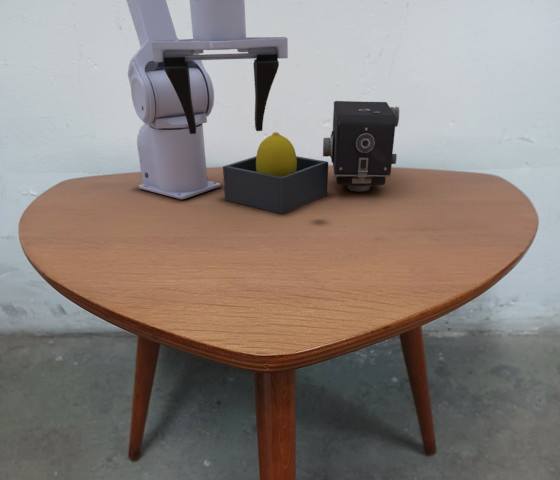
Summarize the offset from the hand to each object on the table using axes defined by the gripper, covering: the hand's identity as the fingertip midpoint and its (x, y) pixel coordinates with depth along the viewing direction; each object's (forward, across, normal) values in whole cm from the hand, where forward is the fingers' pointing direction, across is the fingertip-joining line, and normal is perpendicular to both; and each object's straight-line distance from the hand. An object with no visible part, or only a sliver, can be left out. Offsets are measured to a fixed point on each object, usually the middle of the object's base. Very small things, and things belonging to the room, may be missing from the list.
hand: (226, 130), depth 65 cm
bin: (+10, +6, +8) cm, 14 cm away
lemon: (+10, +7, +8) cm, 14 cm away
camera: (+10, +19, +12) cm, 25 cm away
